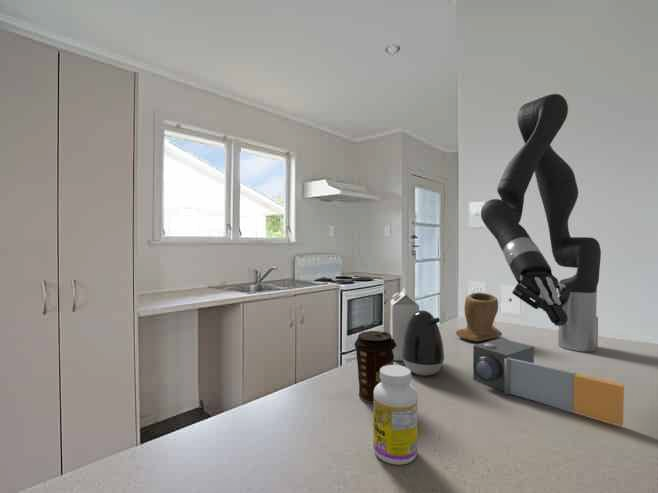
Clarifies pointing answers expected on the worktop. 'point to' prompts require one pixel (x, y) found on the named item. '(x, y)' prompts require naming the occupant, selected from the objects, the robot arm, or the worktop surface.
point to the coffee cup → (372, 360)
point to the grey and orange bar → (565, 390)
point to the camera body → (497, 360)
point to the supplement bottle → (395, 416)
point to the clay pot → (480, 317)
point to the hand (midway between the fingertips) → (561, 323)
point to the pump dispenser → (423, 344)
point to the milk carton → (400, 319)
